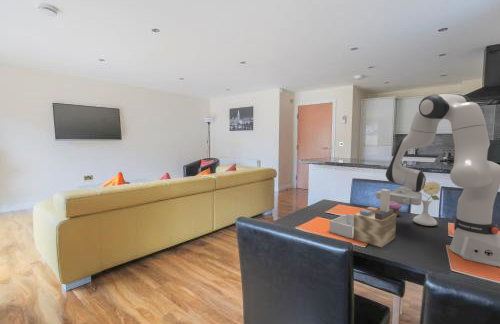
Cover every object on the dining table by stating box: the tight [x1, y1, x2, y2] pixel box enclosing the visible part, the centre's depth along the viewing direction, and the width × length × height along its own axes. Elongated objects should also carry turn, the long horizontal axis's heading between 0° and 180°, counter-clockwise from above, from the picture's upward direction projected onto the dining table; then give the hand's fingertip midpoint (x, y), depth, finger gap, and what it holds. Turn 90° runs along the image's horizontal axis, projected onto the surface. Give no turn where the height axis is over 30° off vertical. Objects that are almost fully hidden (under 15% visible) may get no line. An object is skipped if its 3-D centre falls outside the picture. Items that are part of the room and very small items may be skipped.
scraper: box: [375, 188, 393, 220], centre depth 119 cm, size 3×13×12 cm, turn 131°
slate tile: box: [359, 208, 372, 216], centre depth 122 cm, size 4×4×2 cm
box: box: [329, 213, 354, 240], centre depth 133 cm, size 12×18×6 cm, turn 131°
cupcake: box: [389, 201, 402, 217], centre depth 160 cm, size 9×9×10 cm
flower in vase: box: [412, 180, 442, 227], centre depth 142 cm, size 13×11×25 cm
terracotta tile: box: [365, 206, 379, 213], centre depth 127 cm, size 4×4×2 cm
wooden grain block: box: [352, 209, 397, 248], centre depth 123 cm, size 13×16×12 cm
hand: (391, 199), depth 124 cm, fingers open, 8 cm apart
